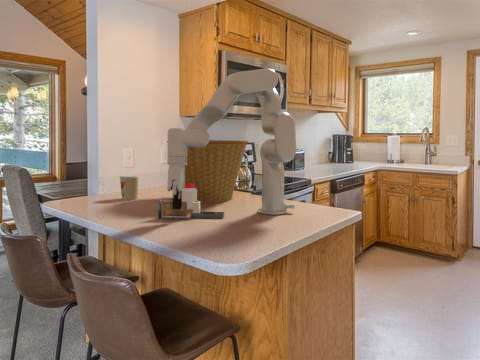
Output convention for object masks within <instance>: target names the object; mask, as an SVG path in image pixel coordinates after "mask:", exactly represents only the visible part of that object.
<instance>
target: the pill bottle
mask: <svg viewBox="0 0 480 360" xmlns="http://www.w3.org/2000/svg"><path fill="white" fill-rule="evenodd" d="M182 201H187V211H188V210H193V202H194V201H197V189H196V188H195V184H193V183H185V188H184V189H183V190H182Z"/></svg>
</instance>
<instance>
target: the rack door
mask: <svg viewBox="0 0 480 360" xmlns="http://www.w3.org/2000/svg"><path fill="white" fill-rule="evenodd" d="M162 217H187V218H188V210H187V201H182V208H181V209H173V200H162Z"/></svg>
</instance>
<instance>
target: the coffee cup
mask: <svg viewBox="0 0 480 360" xmlns="http://www.w3.org/2000/svg"><path fill="white" fill-rule="evenodd" d="M119 182H120V192H121V199H122V200H123V199H124V201H134V199H135V200H137V199H138V195H139V175H138V174H123V175H122V174H121V175H120V177H119Z"/></svg>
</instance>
